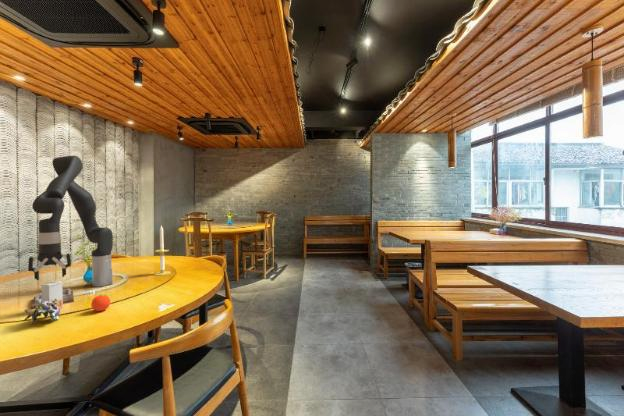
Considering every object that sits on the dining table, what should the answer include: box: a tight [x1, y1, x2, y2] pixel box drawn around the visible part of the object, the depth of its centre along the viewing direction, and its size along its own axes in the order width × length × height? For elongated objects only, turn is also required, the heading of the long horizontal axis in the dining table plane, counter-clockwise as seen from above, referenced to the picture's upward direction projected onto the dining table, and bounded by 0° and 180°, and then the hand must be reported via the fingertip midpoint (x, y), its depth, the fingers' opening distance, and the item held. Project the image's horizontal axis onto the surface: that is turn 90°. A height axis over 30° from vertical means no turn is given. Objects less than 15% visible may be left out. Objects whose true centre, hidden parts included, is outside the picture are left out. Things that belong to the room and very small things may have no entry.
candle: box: [153, 225, 172, 276], centre depth 195 cm, size 10×10×32 cm
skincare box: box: [40, 280, 64, 309], centre depth 133 cm, size 6×4×12 cm
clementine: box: [91, 294, 113, 312], centre depth 131 cm, size 8×7×7 cm
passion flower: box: [23, 299, 61, 326], centre depth 118 cm, size 11×11×12 cm
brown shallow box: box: [30, 288, 75, 310], centre depth 144 cm, size 15×18×3 cm
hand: (50, 278), depth 132 cm, fingers open, 8 cm apart
